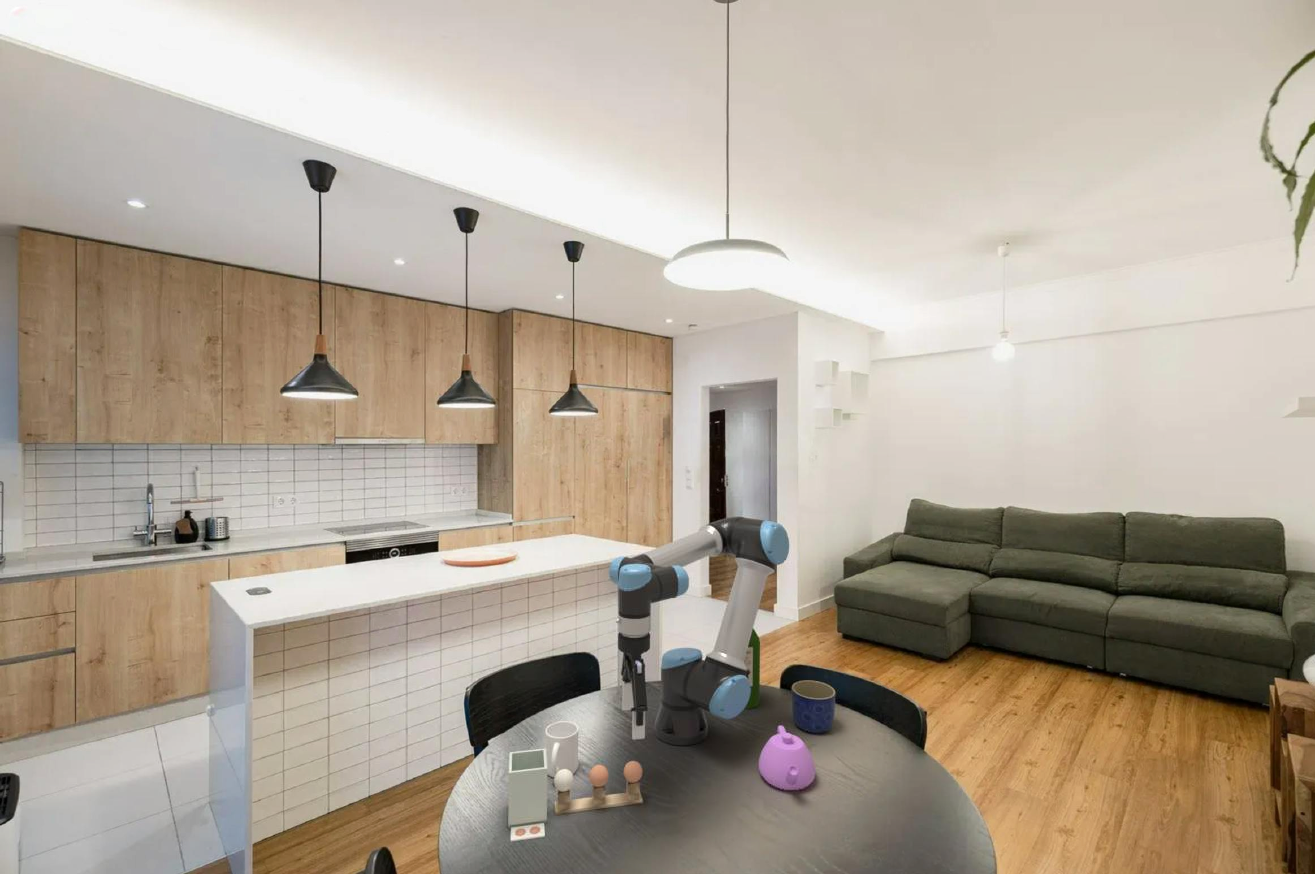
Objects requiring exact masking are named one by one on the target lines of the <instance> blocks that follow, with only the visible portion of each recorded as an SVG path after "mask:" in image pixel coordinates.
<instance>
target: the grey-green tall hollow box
mask: <svg viewBox="0 0 1315 874" xmlns="http://www.w3.org/2000/svg"><path fill="white" fill-rule="evenodd" d="M508 755H509V757H508V758H509V759H508V796H507V797H508V798H507V799H508V803H507V804H508V806H507V807H508V811H507V812H508V813H507V814H508V815H507V818H508V822H507V824H508V826H507V828H508V829H511V828H512V827H519V826H526V825H533V824H541V823H544V824H546V823H548V822H547V821H548V774H547V757H546V748H536V749H530V750H529V749H528V750H527V749H526V750H519V751H512V752H509V754H508Z"/></svg>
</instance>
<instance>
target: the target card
mask: <svg viewBox="0 0 1315 874" xmlns="http://www.w3.org/2000/svg"><path fill="white" fill-rule="evenodd" d="M545 835H546V834H545V823H541V824H533V825H526V826H519V827H512V828H510V842H518V841H519V842H520V841H527V840H533V839H539V838H540V839H541V838H545V837H546V836H545Z"/></svg>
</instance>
